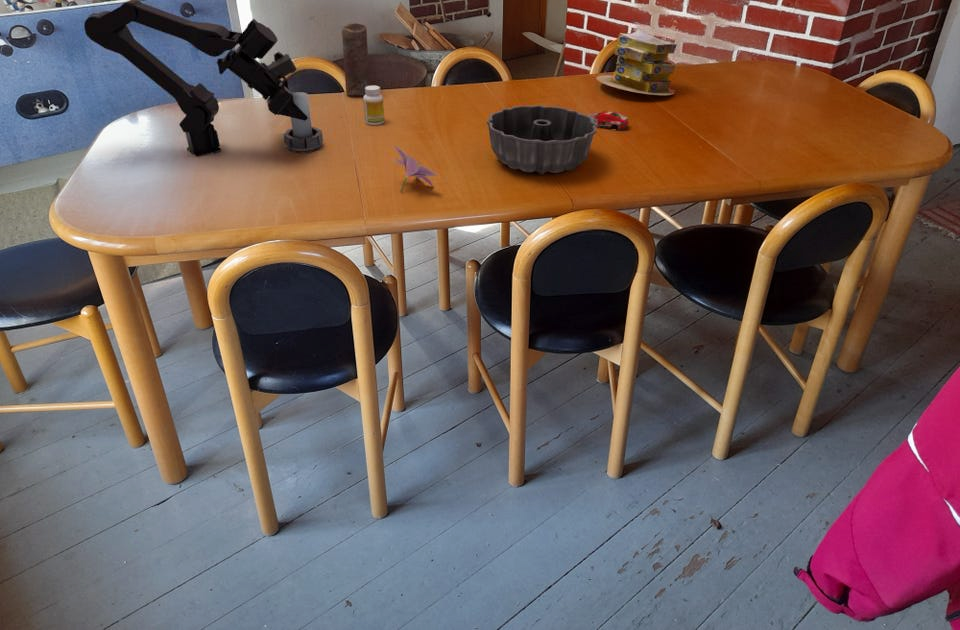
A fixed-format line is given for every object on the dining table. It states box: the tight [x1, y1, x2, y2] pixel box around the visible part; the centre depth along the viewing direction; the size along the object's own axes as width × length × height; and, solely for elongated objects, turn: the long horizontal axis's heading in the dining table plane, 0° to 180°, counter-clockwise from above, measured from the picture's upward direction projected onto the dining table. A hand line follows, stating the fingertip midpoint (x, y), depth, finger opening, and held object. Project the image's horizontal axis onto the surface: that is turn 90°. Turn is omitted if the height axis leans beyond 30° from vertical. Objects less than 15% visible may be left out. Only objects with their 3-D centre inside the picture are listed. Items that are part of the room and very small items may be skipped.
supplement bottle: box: [362, 85, 385, 126], centre depth 191 cm, size 5×5×10 cm
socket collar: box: [282, 126, 324, 154], centre depth 177 cm, size 9×9×4 cm
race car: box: [584, 110, 629, 131], centre depth 192 cm, size 13×5×4 cm, turn 65°
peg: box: [290, 91, 313, 138], centre depth 174 cm, size 5×5×12 cm
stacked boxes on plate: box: [596, 29, 677, 96], centre depth 216 cm, size 25×25×17 cm
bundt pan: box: [486, 104, 598, 175], centre depth 169 cm, size 26×26×10 cm
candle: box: [341, 22, 371, 97], centre depth 208 cm, size 8×7×20 cm
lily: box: [392, 144, 438, 193], centre depth 156 cm, size 12×12×10 cm
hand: (304, 113), depth 174 cm, fingers open, 9 cm apart
